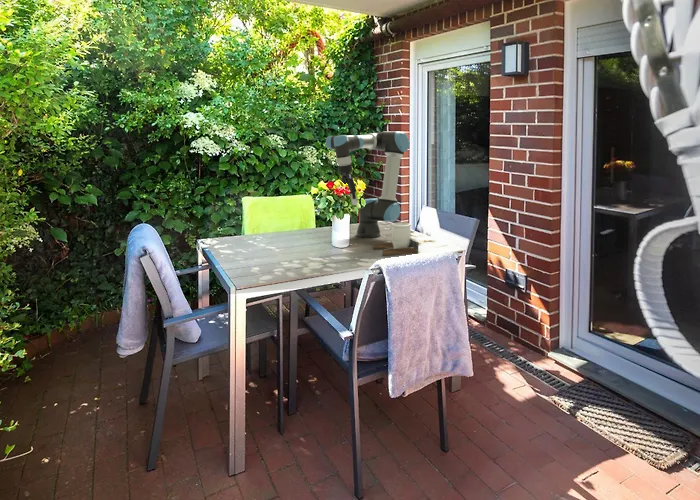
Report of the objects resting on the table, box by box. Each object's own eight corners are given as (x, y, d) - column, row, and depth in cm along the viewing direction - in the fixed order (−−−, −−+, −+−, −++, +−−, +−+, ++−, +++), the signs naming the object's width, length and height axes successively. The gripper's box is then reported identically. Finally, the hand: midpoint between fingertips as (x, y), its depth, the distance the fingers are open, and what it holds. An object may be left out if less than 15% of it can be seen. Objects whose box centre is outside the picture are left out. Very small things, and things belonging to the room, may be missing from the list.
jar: (408, 248, 294) (409, 222, 290) (411, 252, 284) (412, 225, 280) (390, 248, 293) (390, 222, 290) (392, 252, 283) (393, 225, 280)
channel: (374, 248, 293) (374, 238, 292) (407, 246, 298) (407, 236, 297) (383, 255, 278) (383, 244, 276) (418, 252, 283) (418, 242, 281)
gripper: (332, 164, 289) (338, 201, 296) (344, 167, 266) (351, 207, 272) (344, 161, 291) (351, 198, 297) (358, 165, 268) (364, 204, 274)
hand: (351, 203), depth 285 cm, fingers open, 13 cm apart
